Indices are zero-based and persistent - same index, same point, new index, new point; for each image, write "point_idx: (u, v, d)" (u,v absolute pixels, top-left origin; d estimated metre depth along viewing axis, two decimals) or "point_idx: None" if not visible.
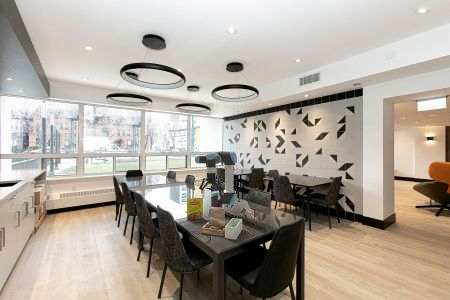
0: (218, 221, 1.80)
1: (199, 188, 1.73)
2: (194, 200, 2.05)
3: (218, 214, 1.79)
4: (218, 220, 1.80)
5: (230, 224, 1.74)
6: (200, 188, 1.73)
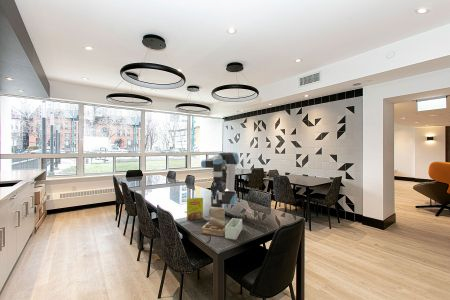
0: (218, 221, 1.80)
1: None
2: (194, 200, 2.05)
3: (218, 214, 1.79)
4: (218, 220, 1.80)
5: (230, 224, 1.74)
6: None
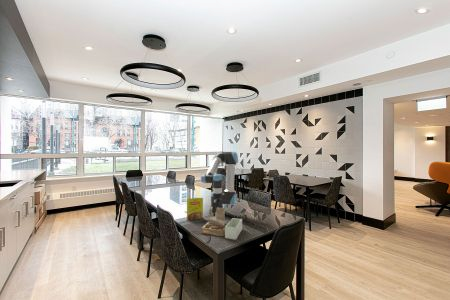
0: (218, 221, 1.80)
1: None
2: (194, 200, 2.05)
3: (218, 214, 1.79)
4: (218, 220, 1.80)
5: (230, 224, 1.74)
6: None
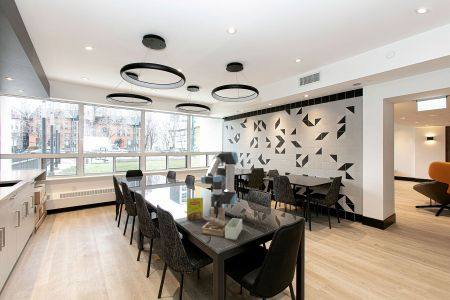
0: None
1: None
2: (194, 200, 2.05)
3: None
4: None
5: (230, 224, 1.74)
6: None
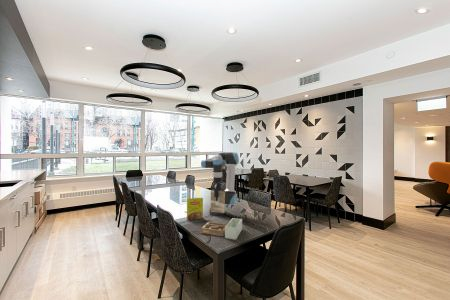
0: None
1: None
2: (194, 200, 2.05)
3: (219, 197, 1.79)
4: None
5: (230, 224, 1.74)
6: None
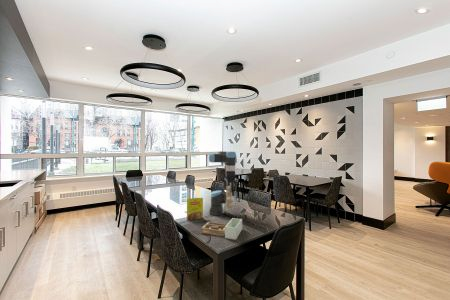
0: None
1: (225, 189, 1.73)
2: (194, 200, 2.05)
3: None
4: None
5: (230, 224, 1.74)
6: (225, 189, 1.73)
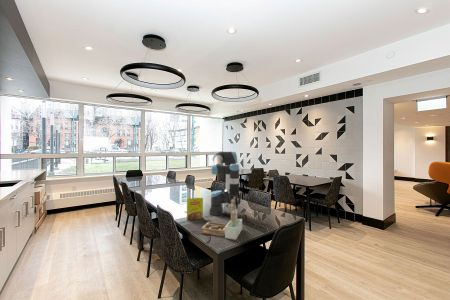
0: None
1: (228, 202, 1.71)
2: (194, 200, 2.05)
3: (235, 204, 1.72)
4: None
5: (230, 224, 1.74)
6: (229, 202, 1.71)
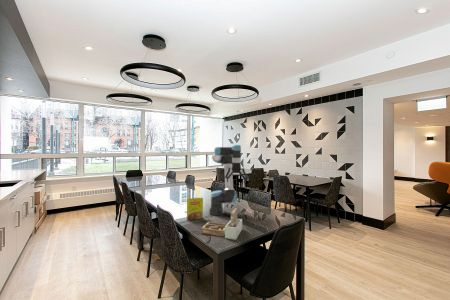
0: (235, 223, 1.72)
1: (225, 177, 1.90)
2: (194, 200, 2.05)
3: (235, 216, 1.73)
4: (235, 222, 1.72)
5: (230, 224, 1.74)
6: (226, 177, 1.90)
